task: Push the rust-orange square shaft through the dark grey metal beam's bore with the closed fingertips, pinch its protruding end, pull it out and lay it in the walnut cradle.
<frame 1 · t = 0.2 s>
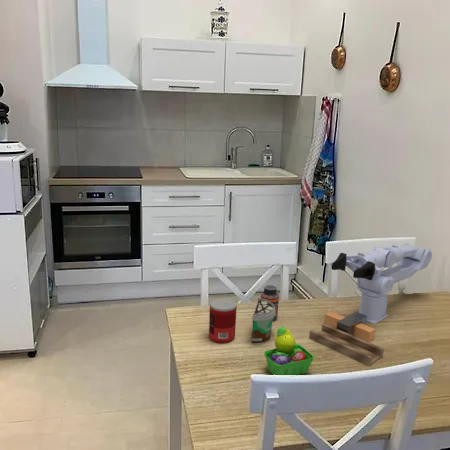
hand: (343, 270, 139), 21 cm above the table, tool horizontal, fingers open, 7 cm apart
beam: (350, 333, 145), on the table
shaft: (348, 330, 146), on the table, touching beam
supplement bottle: (268, 319, 153), on the table
canned food: (221, 337, 140), on the table
cradle: (344, 348, 136), on the table
fruit basket: (286, 370, 124), on the table
food container: (263, 337, 141), on the table
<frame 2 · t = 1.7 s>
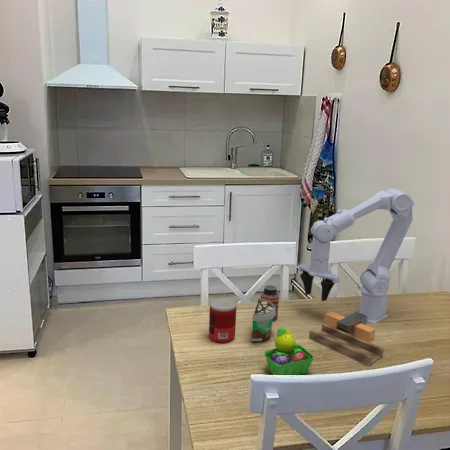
hand: (316, 297, 153), 7 cm above the table, tool pointing down, fingers open, 6 cm apart
nothing on the table moved.
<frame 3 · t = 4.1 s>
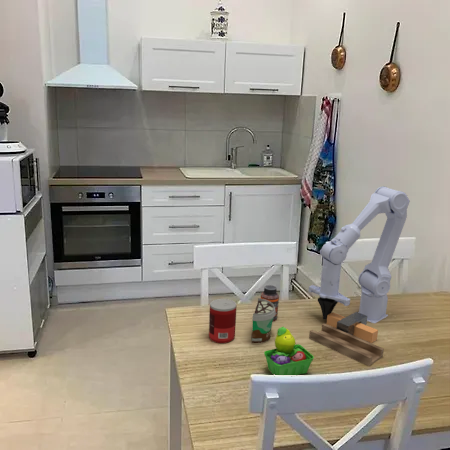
hand: (326, 318, 152), 1 cm above the table, tool pointing down, fingers closed
shaft: (350, 331, 145), point 1 cm above the table, touching gripper
everything else where it was.
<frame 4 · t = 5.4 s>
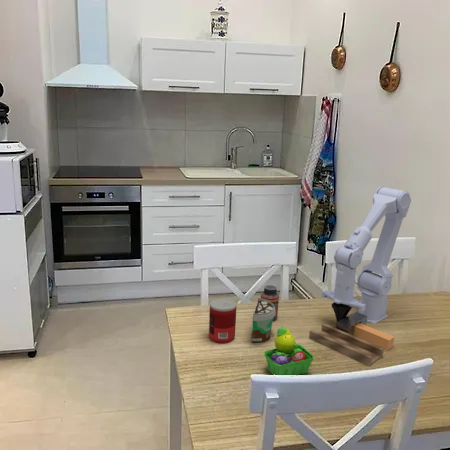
hand: (340, 324, 148), 1 cm above the table, tool pointing down, fingers closed
shaft: (365, 338, 142), on the table, touching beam, gripper
everything else where it was.
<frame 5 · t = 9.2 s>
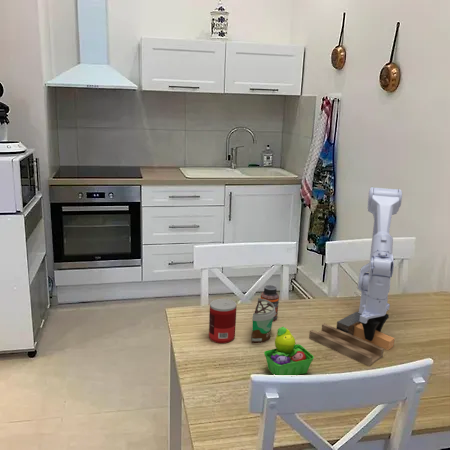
hand: (371, 337, 140), 1 cm above the table, tool pointing down, fingers closed on shaft, 3 cm apart
shaft: (365, 338, 142), on the table, touching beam, gripper
everything else where it was.
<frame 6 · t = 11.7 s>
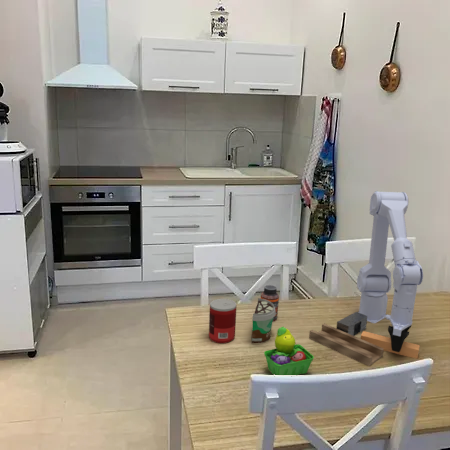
hand: (396, 347, 135), 1 cm above the table, tool pointing down, fingers closed on shaft, 3 cm apart
shaft: (388, 350, 136), on the table, touching gripper
everything else where it was.
when the fingers open (4 cm above the table, at t = 14.6 s): shaft drops 1 cm, resting on cradle.
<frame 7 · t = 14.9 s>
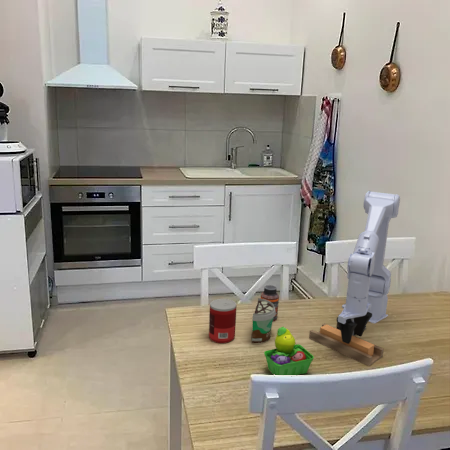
hand: (352, 338, 134), 4 cm above the table, tool pointing down, fingers open, 6 cm apart
shaft: (345, 345, 136), point 1 cm above the table, touching cradle
everything else where it was.
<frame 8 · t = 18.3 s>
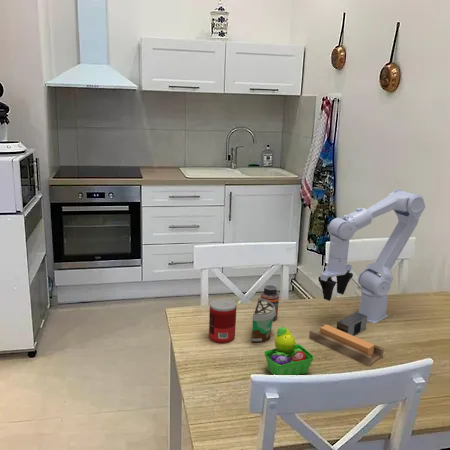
hand: (333, 296, 149), 9 cm above the table, tool pointing down, fingers open, 7 cm apart
nothing on the table moved.
at the end: shaft inside the target area on the cradle (0.2 cm from its centre), point 1.0 cm above the cradle's base; shaft tilted 0°; the gripper is holding nothing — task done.
